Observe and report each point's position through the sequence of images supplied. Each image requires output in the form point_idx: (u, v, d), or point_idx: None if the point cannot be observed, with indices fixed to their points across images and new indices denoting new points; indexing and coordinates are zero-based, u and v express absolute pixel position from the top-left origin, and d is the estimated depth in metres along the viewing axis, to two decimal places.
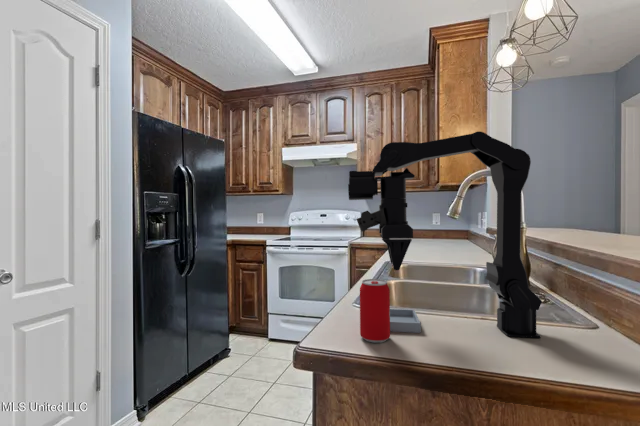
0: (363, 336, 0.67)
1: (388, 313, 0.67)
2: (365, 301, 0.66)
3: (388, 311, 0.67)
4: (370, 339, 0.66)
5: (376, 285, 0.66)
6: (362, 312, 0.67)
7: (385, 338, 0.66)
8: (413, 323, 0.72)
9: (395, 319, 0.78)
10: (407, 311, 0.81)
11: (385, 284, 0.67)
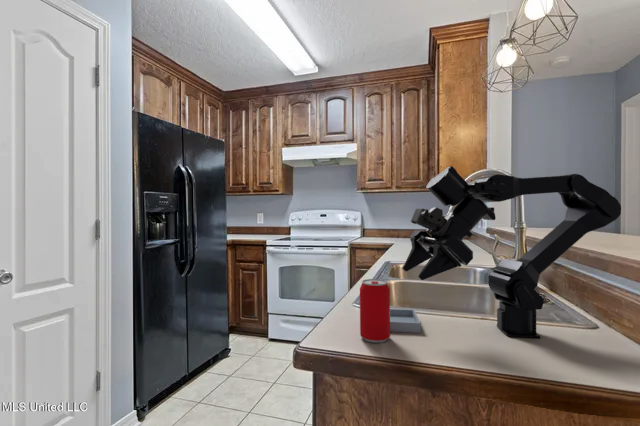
0: (363, 336, 0.67)
1: (388, 313, 0.67)
2: (365, 301, 0.66)
3: (388, 311, 0.67)
4: (370, 339, 0.66)
5: (376, 285, 0.66)
6: (362, 312, 0.67)
7: (385, 338, 0.66)
8: (413, 323, 0.72)
9: (395, 319, 0.78)
10: (407, 311, 0.81)
11: (385, 284, 0.67)
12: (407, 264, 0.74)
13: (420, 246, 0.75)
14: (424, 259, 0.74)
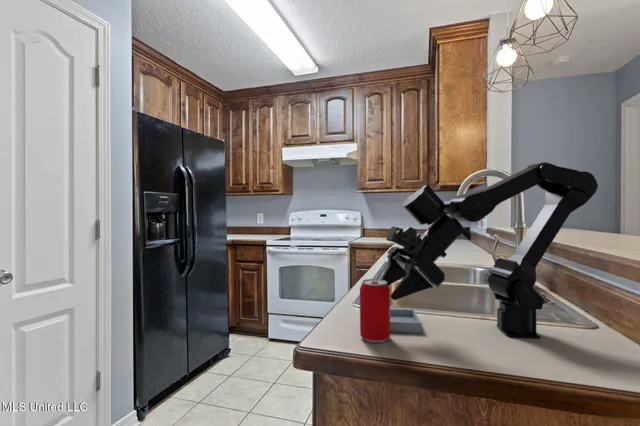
0: (363, 336, 0.67)
1: (388, 313, 0.67)
2: (365, 301, 0.66)
3: (388, 311, 0.67)
4: (370, 339, 0.66)
5: (376, 285, 0.66)
6: (362, 312, 0.67)
7: (385, 338, 0.66)
8: (413, 323, 0.72)
9: (395, 319, 0.78)
10: (407, 311, 0.81)
11: (385, 284, 0.67)
12: None
13: (396, 263, 0.74)
14: (400, 277, 0.74)
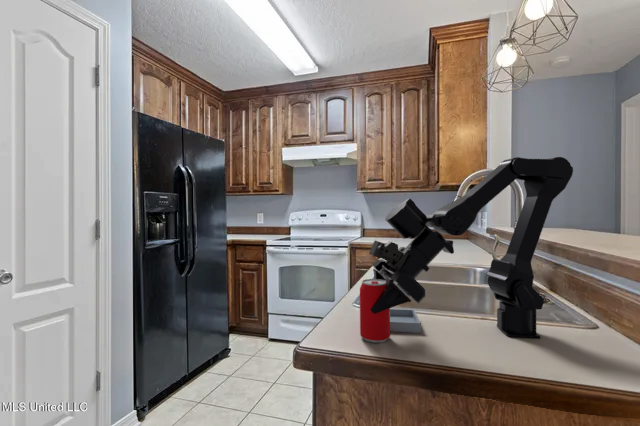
0: (363, 336, 0.67)
1: (388, 313, 0.67)
2: (365, 301, 0.66)
3: (388, 311, 0.67)
4: (370, 339, 0.66)
5: (376, 285, 0.66)
6: (362, 312, 0.67)
7: (385, 338, 0.66)
8: (413, 323, 0.72)
9: (395, 319, 0.78)
10: (407, 311, 0.81)
11: (385, 284, 0.67)
12: None
13: (382, 278, 0.72)
14: None
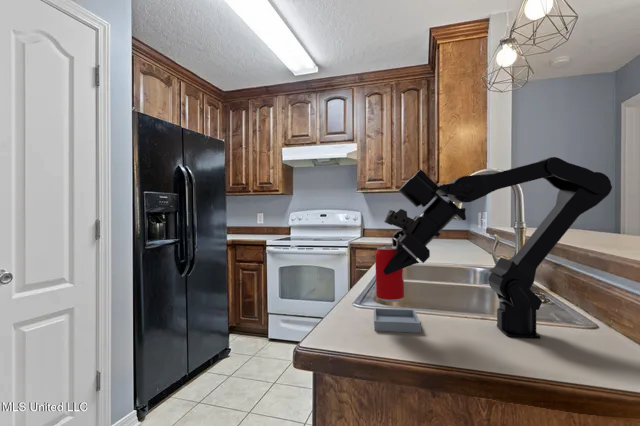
0: (378, 296, 0.74)
1: (400, 275, 0.72)
2: (378, 264, 0.73)
3: (400, 273, 0.72)
4: (383, 298, 0.72)
5: (388, 249, 0.72)
6: (376, 274, 0.74)
7: (397, 298, 0.72)
8: (413, 323, 0.72)
9: (395, 319, 0.78)
10: (407, 311, 0.81)
11: None
12: None
13: None
14: None
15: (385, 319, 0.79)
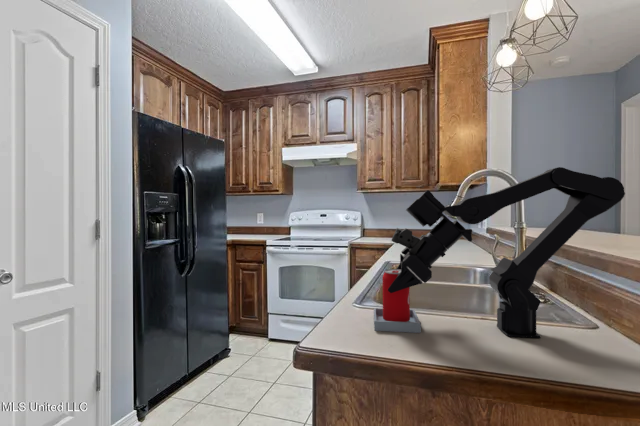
0: (384, 318, 0.76)
1: (406, 299, 0.75)
2: (385, 287, 0.76)
3: (406, 298, 0.75)
4: (389, 320, 0.75)
5: (394, 273, 0.75)
6: (383, 297, 0.77)
7: (402, 321, 0.74)
8: (413, 323, 0.72)
9: None
10: None
11: None
12: None
13: None
14: None
15: None
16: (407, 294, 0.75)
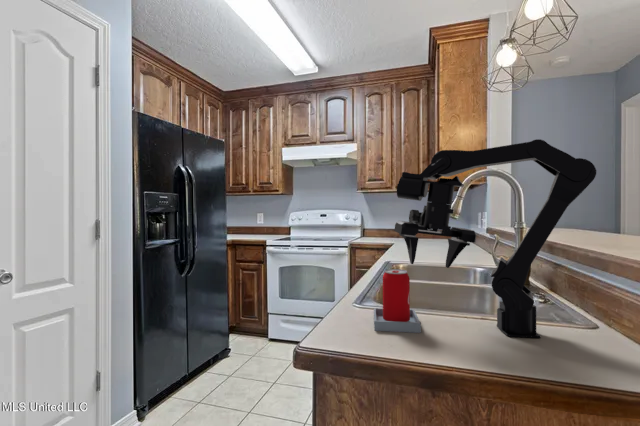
0: (384, 318, 0.76)
1: (406, 299, 0.75)
2: (385, 287, 0.76)
3: (406, 298, 0.75)
4: (389, 320, 0.75)
5: (394, 273, 0.75)
6: (383, 297, 0.77)
7: (402, 321, 0.74)
8: (413, 323, 0.72)
9: None
10: None
11: (404, 273, 0.75)
12: (446, 261, 0.81)
13: (451, 241, 0.82)
14: (455, 249, 0.79)
15: None
16: (407, 294, 0.75)
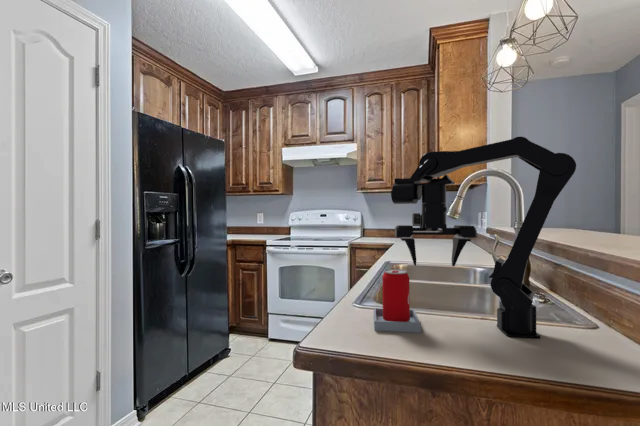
0: (384, 318, 0.76)
1: (406, 299, 0.75)
2: (385, 287, 0.76)
3: (406, 297, 0.75)
4: (389, 320, 0.75)
5: (394, 273, 0.75)
6: (383, 297, 0.77)
7: (402, 321, 0.74)
8: (413, 323, 0.72)
9: None
10: None
11: (403, 273, 0.75)
12: None
13: (454, 239, 0.82)
14: (456, 246, 0.79)
15: None
16: (407, 294, 0.75)
